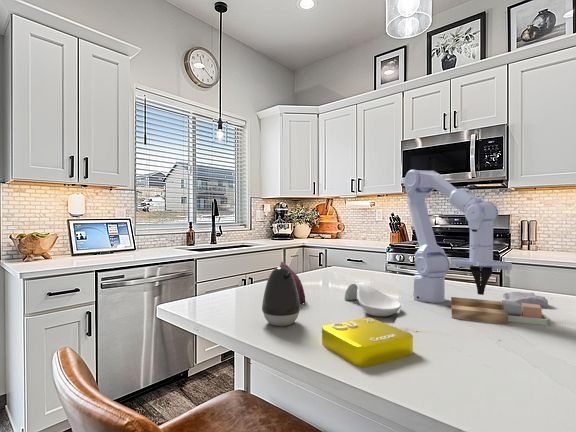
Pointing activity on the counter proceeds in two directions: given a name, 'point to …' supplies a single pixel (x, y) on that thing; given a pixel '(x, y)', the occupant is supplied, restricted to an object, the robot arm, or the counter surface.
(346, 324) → the element tile
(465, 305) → the oak channel board
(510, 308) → the grey steel block
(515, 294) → the stone block
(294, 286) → the black egg shape
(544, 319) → the sage tray
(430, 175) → the robot arm
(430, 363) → the counter surface
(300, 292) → the vegetable
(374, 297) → the spoon rest
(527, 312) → the terracotta block
